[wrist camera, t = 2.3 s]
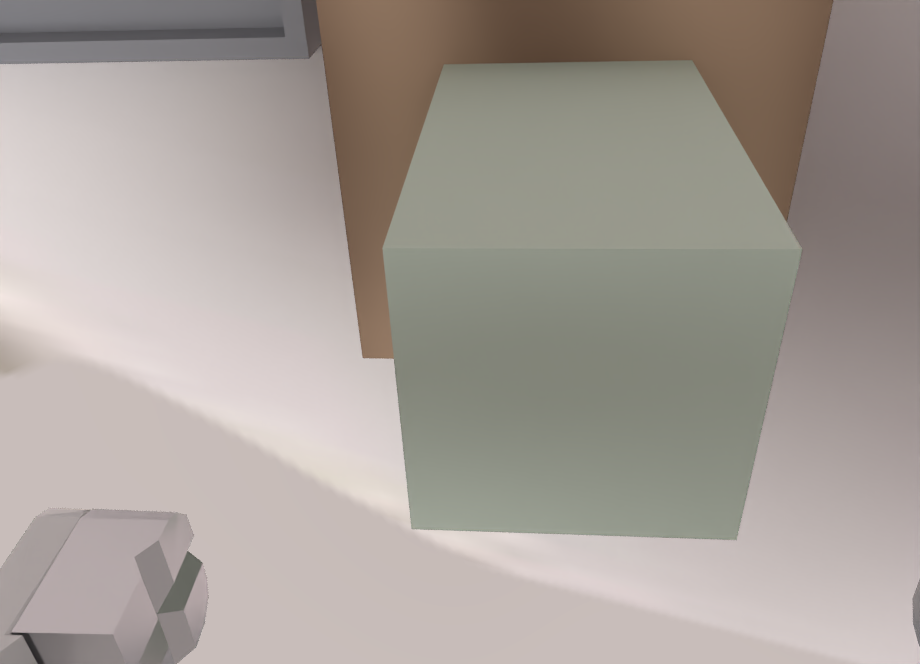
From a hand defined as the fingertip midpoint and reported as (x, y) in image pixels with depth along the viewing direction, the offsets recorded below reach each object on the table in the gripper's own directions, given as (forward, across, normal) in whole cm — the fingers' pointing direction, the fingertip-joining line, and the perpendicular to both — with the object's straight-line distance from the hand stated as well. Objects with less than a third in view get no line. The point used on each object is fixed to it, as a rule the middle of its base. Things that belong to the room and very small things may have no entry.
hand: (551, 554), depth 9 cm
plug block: (+11, -1, 0) cm, 11 cm away
